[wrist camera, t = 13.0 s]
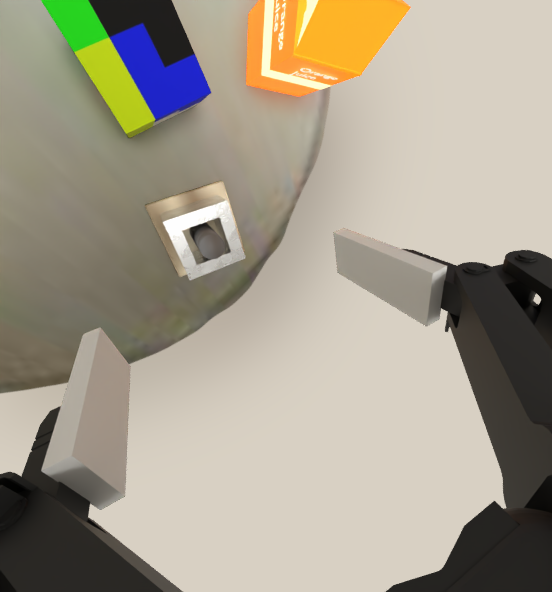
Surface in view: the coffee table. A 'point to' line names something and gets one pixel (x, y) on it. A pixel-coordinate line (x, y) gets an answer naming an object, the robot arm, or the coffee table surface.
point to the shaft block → (196, 236)
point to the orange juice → (315, 41)
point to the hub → (197, 215)
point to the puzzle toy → (133, 57)
